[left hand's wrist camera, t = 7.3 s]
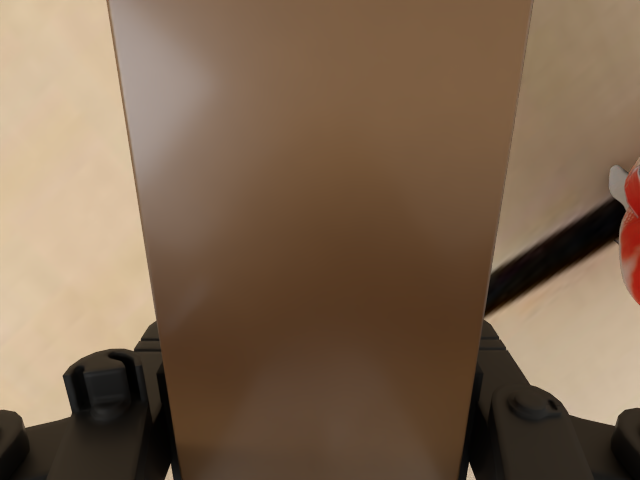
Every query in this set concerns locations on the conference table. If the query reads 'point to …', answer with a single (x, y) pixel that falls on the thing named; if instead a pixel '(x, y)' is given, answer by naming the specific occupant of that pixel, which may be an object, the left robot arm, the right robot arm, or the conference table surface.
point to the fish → (628, 224)
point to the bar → (319, 222)
